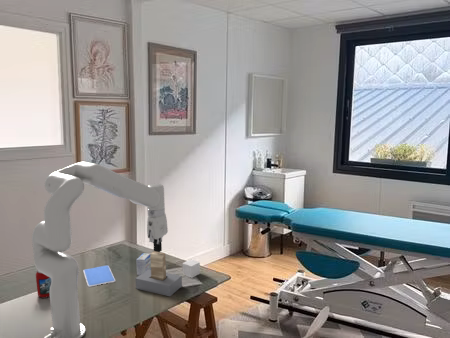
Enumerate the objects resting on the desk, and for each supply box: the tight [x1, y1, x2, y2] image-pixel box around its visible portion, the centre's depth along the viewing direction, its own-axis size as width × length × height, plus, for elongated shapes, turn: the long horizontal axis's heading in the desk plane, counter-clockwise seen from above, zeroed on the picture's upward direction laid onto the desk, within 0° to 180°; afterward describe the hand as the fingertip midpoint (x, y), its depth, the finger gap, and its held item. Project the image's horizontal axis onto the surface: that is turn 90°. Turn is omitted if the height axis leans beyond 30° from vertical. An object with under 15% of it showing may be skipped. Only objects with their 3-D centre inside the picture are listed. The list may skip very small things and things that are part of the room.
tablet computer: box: [83, 265, 116, 288], centre depth 201 cm, size 19×13×1 cm, turn 25°
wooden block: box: [149, 250, 167, 281], centre depth 187 cm, size 3×6×12 cm, turn 66°
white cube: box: [181, 259, 201, 279], centre depth 202 cm, size 6×6×6 cm
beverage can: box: [35, 269, 52, 299], centre depth 182 cm, size 7×7×12 cm
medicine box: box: [135, 252, 151, 277], centre depth 203 cm, size 8×4×9 cm, turn 168°
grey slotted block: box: [135, 269, 183, 297], centre depth 189 cm, size 10×18×5 cm, turn 66°
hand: (157, 251), depth 186 cm, fingers closed
